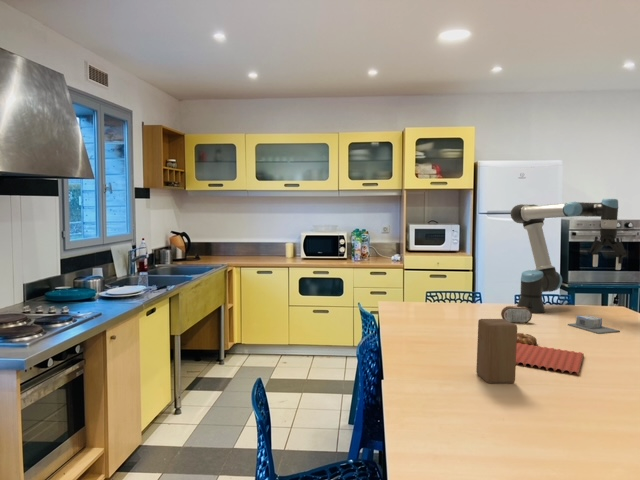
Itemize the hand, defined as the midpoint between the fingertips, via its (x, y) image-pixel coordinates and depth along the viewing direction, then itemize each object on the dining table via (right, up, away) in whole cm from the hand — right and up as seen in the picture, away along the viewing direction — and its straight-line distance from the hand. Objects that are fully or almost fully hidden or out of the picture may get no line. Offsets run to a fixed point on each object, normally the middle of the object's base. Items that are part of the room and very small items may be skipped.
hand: (606, 268), depth 253 cm
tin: (-49, -29, -4) cm, 57 cm away
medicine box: (-20, -27, -13) cm, 36 cm away
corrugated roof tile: (-65, -33, -65) cm, 98 cm away
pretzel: (-62, -31, -42) cm, 81 cm away
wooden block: (-92, -33, -88) cm, 131 cm away
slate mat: (-15, -29, -14) cm, 36 cm away
